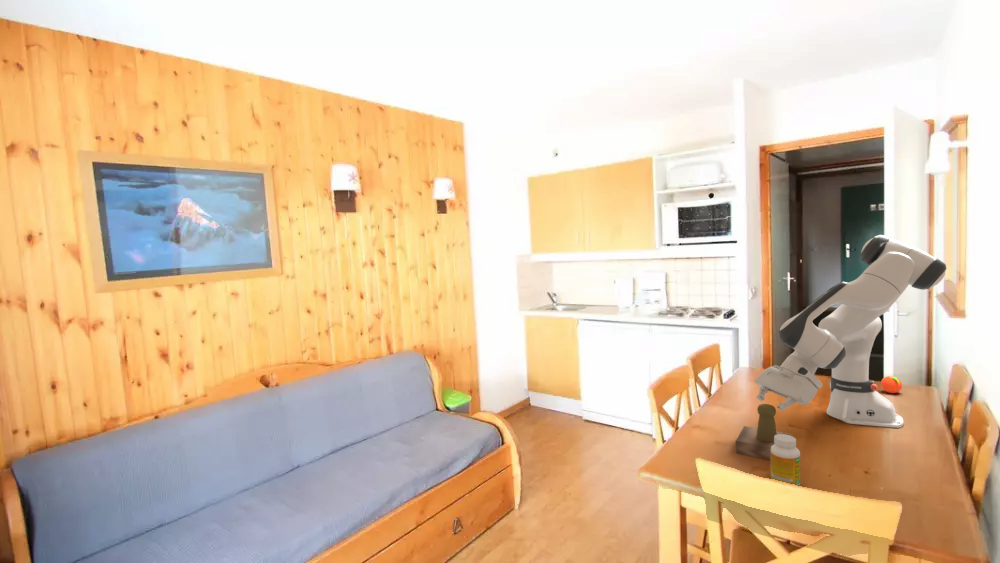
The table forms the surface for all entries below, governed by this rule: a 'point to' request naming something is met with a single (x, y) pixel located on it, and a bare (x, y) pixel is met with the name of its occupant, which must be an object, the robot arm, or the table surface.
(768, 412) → the olive pawn
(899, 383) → the clementine
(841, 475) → the table surface
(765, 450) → the walnut plinth
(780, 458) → the supplement bottle
